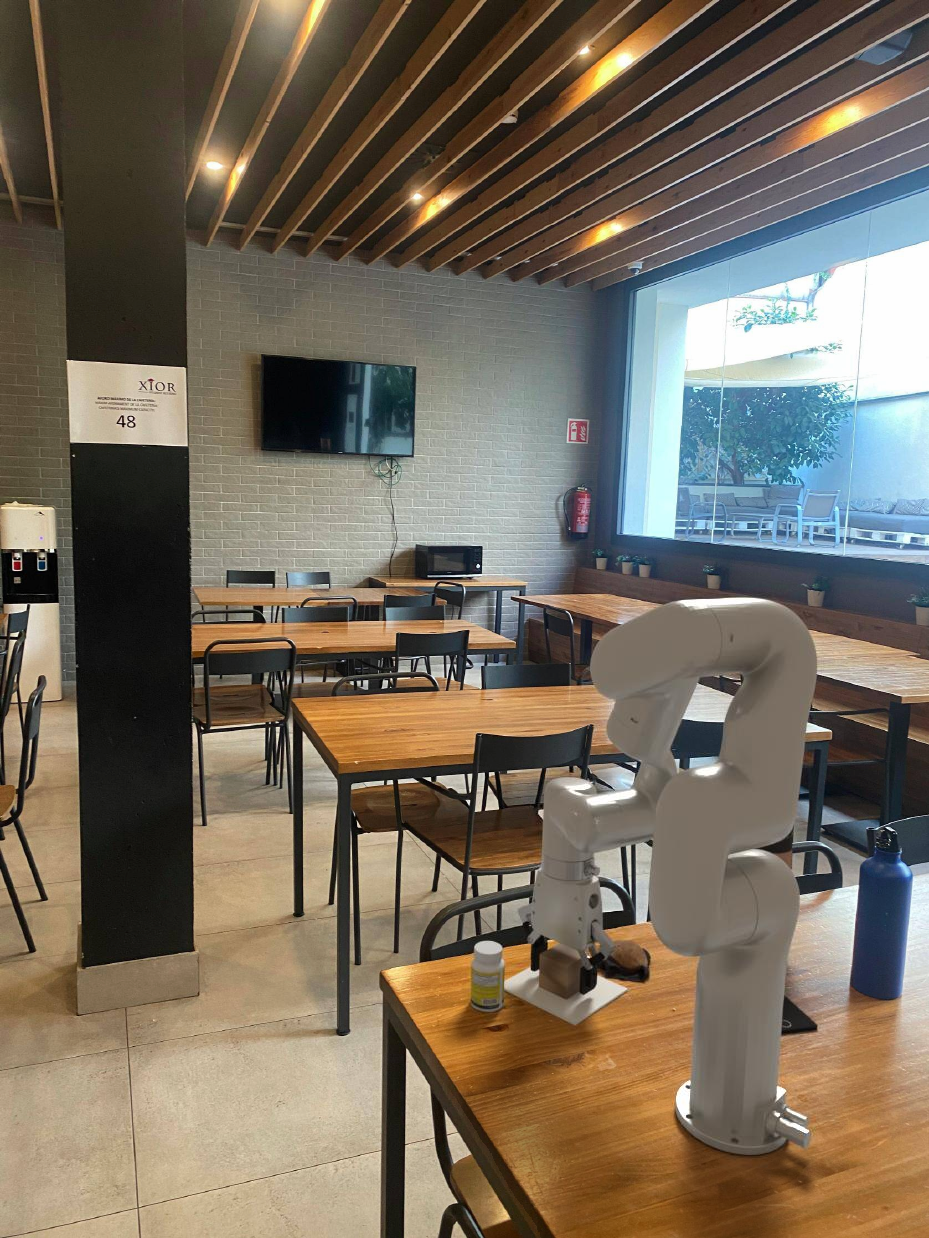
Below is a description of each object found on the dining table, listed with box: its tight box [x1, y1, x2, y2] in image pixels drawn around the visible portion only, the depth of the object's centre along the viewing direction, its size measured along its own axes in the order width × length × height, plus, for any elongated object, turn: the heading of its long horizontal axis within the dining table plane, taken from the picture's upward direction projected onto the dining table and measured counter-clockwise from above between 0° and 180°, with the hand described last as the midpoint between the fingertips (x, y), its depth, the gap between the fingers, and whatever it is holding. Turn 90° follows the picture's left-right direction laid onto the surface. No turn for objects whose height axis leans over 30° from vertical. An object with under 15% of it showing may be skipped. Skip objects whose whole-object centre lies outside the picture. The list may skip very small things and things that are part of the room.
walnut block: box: [539, 943, 584, 1000], centre depth 130 cm, size 5×5×5 cm
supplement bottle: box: [470, 940, 506, 1013], centre depth 125 cm, size 5×5×8 cm
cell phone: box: [781, 994, 818, 1036], centre depth 129 cm, size 9×18×1 cm, turn 13°
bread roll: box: [598, 939, 652, 983], centre depth 138 cm, size 11×8×4 cm
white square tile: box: [504, 966, 629, 1026], centre depth 130 cm, size 14×13×1 cm
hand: (562, 978), depth 130 cm, fingers open, 8 cm apart
